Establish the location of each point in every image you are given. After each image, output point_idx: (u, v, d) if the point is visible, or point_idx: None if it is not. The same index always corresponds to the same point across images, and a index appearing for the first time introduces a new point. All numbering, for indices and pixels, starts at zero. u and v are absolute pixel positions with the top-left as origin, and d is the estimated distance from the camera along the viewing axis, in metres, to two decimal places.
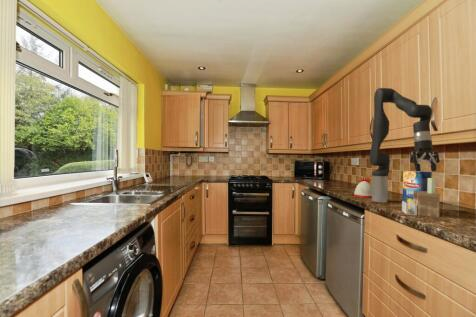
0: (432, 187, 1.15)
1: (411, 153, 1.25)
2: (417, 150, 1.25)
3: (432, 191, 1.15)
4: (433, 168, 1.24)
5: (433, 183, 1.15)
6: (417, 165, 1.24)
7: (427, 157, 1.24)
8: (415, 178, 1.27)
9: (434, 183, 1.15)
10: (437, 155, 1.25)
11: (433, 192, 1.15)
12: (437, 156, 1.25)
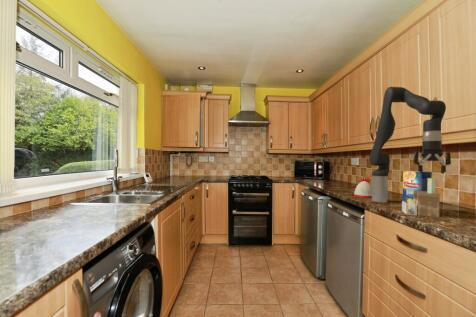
0: (432, 187, 1.15)
1: (414, 154, 1.21)
2: (422, 151, 1.19)
3: (432, 191, 1.15)
4: (441, 170, 1.16)
5: (433, 183, 1.15)
6: (419, 167, 1.20)
7: (434, 158, 1.17)
8: (415, 178, 1.27)
9: (434, 183, 1.15)
10: (448, 156, 1.14)
11: (433, 192, 1.15)
12: (448, 157, 1.14)
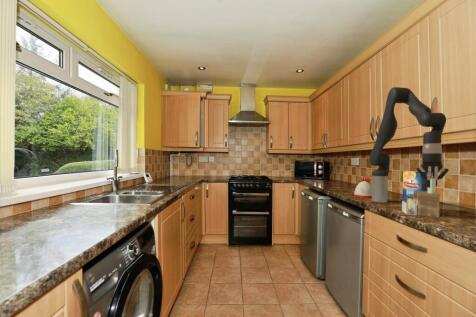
0: (432, 187, 1.15)
1: (416, 170, 1.21)
2: (422, 163, 1.19)
3: (432, 191, 1.15)
4: None
5: (433, 183, 1.15)
6: (427, 181, 1.18)
7: (431, 169, 1.17)
8: (415, 178, 1.27)
9: (434, 183, 1.15)
10: (444, 172, 1.15)
11: (433, 192, 1.15)
12: (444, 173, 1.15)
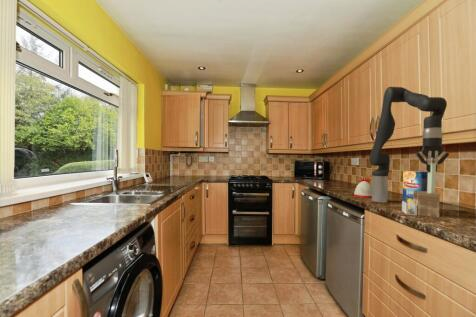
0: (432, 172, 1.15)
1: (417, 155, 1.21)
2: (422, 148, 1.19)
3: (432, 176, 1.15)
4: None
5: (433, 168, 1.15)
6: (428, 166, 1.18)
7: (431, 154, 1.17)
8: (415, 178, 1.27)
9: (434, 168, 1.15)
10: (445, 156, 1.15)
11: (433, 177, 1.15)
12: (444, 157, 1.15)
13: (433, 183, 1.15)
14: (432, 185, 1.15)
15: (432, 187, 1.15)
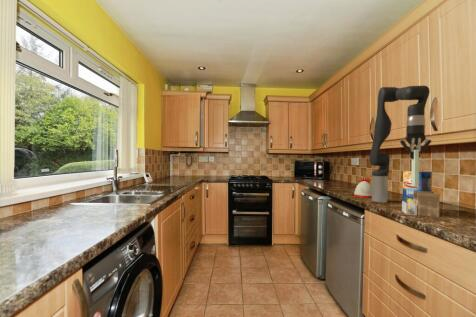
0: (415, 158, 1.18)
1: (401, 143, 1.24)
2: (406, 135, 1.22)
3: (416, 161, 1.18)
4: None
5: (416, 154, 1.18)
6: (411, 153, 1.21)
7: (415, 141, 1.20)
8: None
9: (417, 154, 1.18)
10: (427, 143, 1.18)
11: (416, 162, 1.18)
12: (426, 144, 1.18)
13: (416, 169, 1.18)
14: (416, 171, 1.18)
15: (416, 173, 1.18)
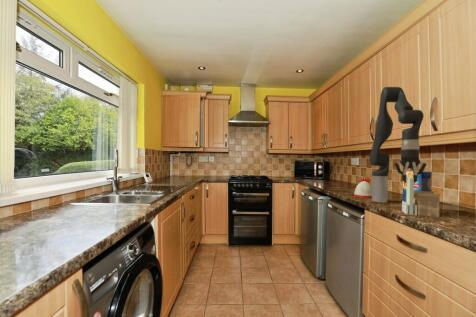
0: (410, 186, 1.17)
1: (395, 165, 1.25)
2: (401, 159, 1.23)
3: (410, 190, 1.17)
4: None
5: (411, 182, 1.16)
6: (403, 176, 1.22)
7: (410, 165, 1.21)
8: None
9: (412, 182, 1.16)
10: (423, 167, 1.18)
11: (411, 191, 1.17)
12: (422, 168, 1.19)
13: (411, 198, 1.17)
14: (410, 199, 1.17)
15: (410, 201, 1.17)
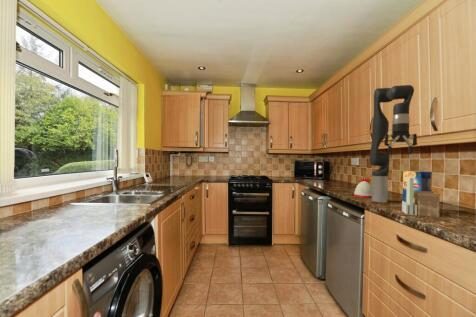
0: (410, 186, 1.18)
1: (385, 136, 1.29)
2: (392, 133, 1.28)
3: (410, 190, 1.17)
4: (409, 151, 1.25)
5: (411, 182, 1.17)
6: (389, 148, 1.28)
7: (402, 140, 1.25)
8: (415, 178, 1.27)
9: (412, 182, 1.17)
10: (415, 137, 1.23)
11: (411, 191, 1.17)
12: (415, 138, 1.23)
13: (411, 197, 1.17)
14: (410, 199, 1.17)
15: (410, 201, 1.17)
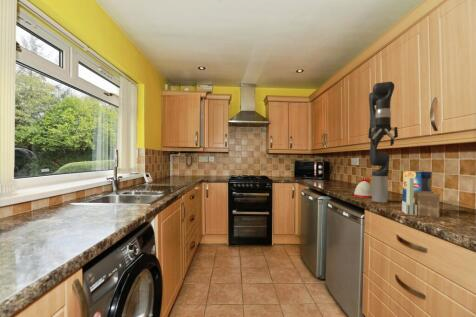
0: (410, 186, 1.18)
1: (369, 129, 1.39)
2: (375, 126, 1.37)
3: (410, 190, 1.17)
4: (390, 143, 1.33)
5: (411, 182, 1.17)
6: (372, 140, 1.37)
7: (384, 133, 1.34)
8: (415, 178, 1.27)
9: (412, 182, 1.17)
10: (396, 130, 1.32)
11: (411, 191, 1.17)
12: (396, 131, 1.32)
13: (411, 197, 1.17)
14: (410, 199, 1.17)
15: (410, 201, 1.17)
